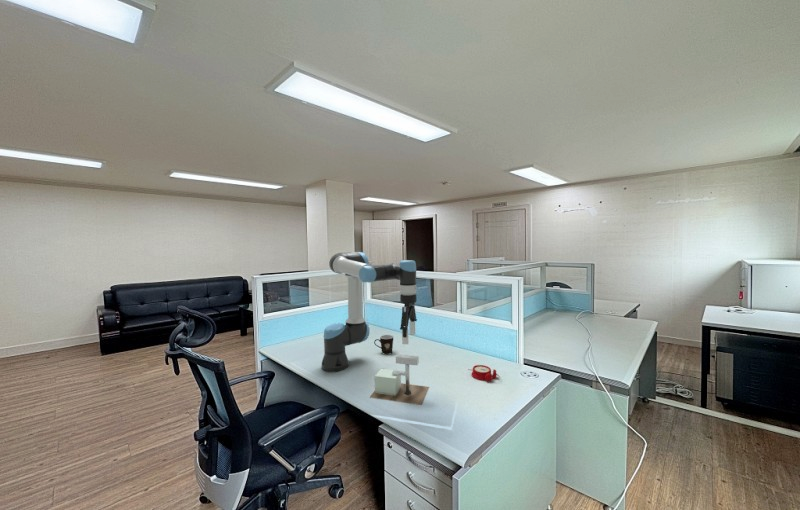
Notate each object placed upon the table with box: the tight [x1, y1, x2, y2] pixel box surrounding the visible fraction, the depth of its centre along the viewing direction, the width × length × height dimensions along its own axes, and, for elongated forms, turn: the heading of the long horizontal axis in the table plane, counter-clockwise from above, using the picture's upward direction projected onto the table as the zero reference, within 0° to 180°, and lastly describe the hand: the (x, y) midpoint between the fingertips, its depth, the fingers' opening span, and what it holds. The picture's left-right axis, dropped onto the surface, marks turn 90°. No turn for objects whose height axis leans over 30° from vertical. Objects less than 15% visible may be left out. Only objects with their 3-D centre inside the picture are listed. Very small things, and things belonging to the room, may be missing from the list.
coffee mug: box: [374, 334, 394, 355], centre depth 193 cm, size 12×9×10 cm
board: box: [369, 382, 430, 406], centre depth 140 cm, size 24×16×2 cm
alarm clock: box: [468, 364, 500, 383], centre depth 156 cm, size 10×6×15 cm
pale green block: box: [374, 368, 402, 396], centre depth 142 cm, size 10×8×8 cm
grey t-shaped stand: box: [392, 353, 420, 392], centre depth 139 cm, size 12×3×16 cm, turn 73°
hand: (409, 339), depth 140 cm, fingers open, 13 cm apart
